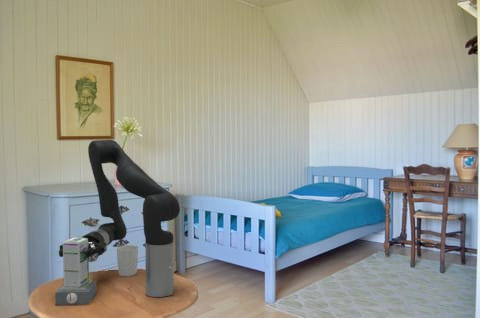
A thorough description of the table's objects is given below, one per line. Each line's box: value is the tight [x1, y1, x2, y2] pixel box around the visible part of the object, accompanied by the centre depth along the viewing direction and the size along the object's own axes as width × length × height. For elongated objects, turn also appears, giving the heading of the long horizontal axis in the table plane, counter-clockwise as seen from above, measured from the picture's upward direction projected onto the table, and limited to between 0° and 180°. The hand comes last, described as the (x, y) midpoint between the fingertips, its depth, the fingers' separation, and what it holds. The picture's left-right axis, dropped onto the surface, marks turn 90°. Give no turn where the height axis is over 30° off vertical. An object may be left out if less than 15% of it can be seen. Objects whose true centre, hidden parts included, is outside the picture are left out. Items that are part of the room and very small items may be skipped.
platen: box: [59, 279, 93, 291], centre depth 142 cm, size 8×8×1 cm
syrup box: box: [62, 237, 90, 287], centre depth 141 cm, size 6×6×14 cm
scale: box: [54, 280, 97, 306], centre depth 141 cm, size 10×11×4 cm
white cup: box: [116, 244, 139, 277], centre depth 167 cm, size 8×8×10 cm
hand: (73, 254), depth 139 cm, fingers open, 8 cm apart
